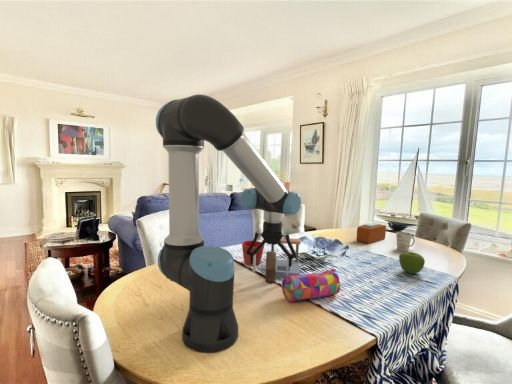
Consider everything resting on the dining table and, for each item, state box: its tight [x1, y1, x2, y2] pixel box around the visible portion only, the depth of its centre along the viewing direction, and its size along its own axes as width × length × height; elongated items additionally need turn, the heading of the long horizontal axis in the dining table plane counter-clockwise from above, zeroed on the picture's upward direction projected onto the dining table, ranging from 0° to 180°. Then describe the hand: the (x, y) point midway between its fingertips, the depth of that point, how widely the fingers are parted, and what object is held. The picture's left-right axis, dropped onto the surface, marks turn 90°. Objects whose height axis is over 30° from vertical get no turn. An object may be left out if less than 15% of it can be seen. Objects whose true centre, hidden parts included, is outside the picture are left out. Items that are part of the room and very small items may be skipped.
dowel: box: [264, 250, 277, 285], centre depth 114 cm, size 4×4×12 cm
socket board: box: [270, 237, 301, 279], centre depth 126 cm, size 16×14×13 cm
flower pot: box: [241, 240, 265, 267], centre depth 136 cm, size 11×11×10 cm
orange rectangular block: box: [356, 221, 387, 245], centre depth 189 cm, size 24×8×11 cm, turn 131°
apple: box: [398, 251, 426, 275], centre depth 130 cm, size 11×10×10 cm
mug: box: [395, 231, 416, 252], centre depth 170 cm, size 8×13×10 cm, turn 107°
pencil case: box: [281, 268, 341, 303], centre depth 103 cm, size 22×9×9 cm, turn 117°
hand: (270, 272), depth 114 cm, fingers open, 13 cm apart
